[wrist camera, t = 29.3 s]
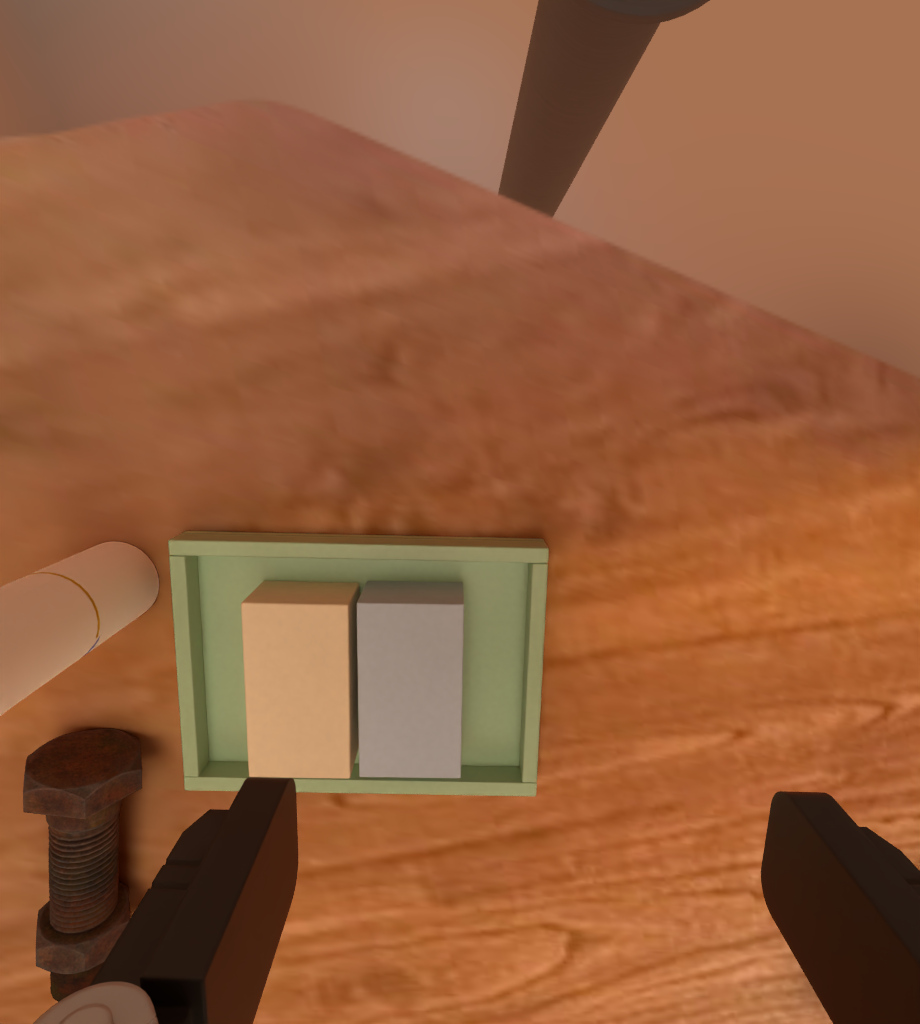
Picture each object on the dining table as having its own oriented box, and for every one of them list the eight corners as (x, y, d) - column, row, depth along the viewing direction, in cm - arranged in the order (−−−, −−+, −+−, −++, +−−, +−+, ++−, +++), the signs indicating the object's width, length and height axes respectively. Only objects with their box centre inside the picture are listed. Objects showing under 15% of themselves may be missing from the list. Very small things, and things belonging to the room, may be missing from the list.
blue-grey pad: (366, 580, 32) (356, 602, 29) (463, 581, 32) (464, 604, 29) (368, 738, 34) (359, 777, 31) (460, 739, 34) (460, 778, 31)
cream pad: (263, 580, 32) (240, 602, 29) (359, 582, 32) (348, 604, 29) (269, 738, 34) (248, 777, 31) (361, 740, 34) (350, 779, 31)
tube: (88, 529, 32) (-220, 646, 18) (168, 557, 33) (-69, 695, 18) (68, 603, 33) (-242, 775, 18) (147, 630, 33) (-97, 819, 19)
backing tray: (185, 530, 32) (167, 539, 30) (543, 538, 33) (549, 548, 31) (200, 767, 35) (184, 790, 33) (531, 773, 35) (536, 796, 33)
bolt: (107, 929, 39) (110, 714, 36) (159, 974, 37) (167, 749, 33) (3, 1004, 34) (-5, 762, 31) (55, 1062, 32) (52, 808, 28)
